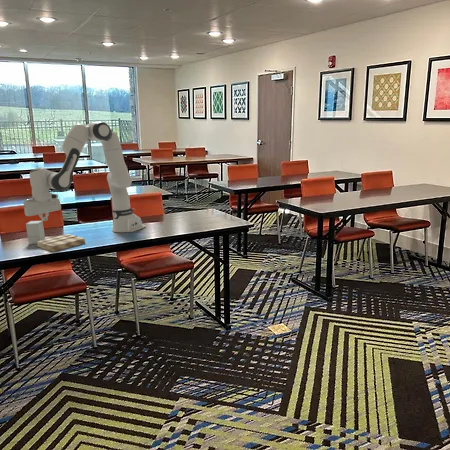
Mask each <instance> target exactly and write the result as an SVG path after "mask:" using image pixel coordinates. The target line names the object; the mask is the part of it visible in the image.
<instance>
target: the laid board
mask: <svg viewBox="0 0 450 450" xmlns="http://www.w3.org/2000/svg"><path fill="white" fill-rule="evenodd" d="M83 244H86V238H85V237H81V236H78V235H74V237H70V238H66V239H62V240H58V241H54V242H50V243H46V244H45V245H46V249H45V250H47V251H50V252H57V251H61V250H65V249H69V248H72V247H76V246H80V245H83Z"/></svg>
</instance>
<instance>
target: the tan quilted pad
mask: <svg viewBox="0 0 450 450" xmlns="http://www.w3.org/2000/svg"><path fill="white" fill-rule="evenodd" d="M74 236H75V235H74V234H70V233H67V234H62V235H58V236H54V237H50V238H45V240H41V241H37V244H36V245H37V247H38V248H41V249H44V250H47V249H46V245H45V244H46V243H50V242H54V241H58V240H62V239H66V238H70V237H74Z"/></svg>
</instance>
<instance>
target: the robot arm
mask: <svg viewBox="0 0 450 450" xmlns="http://www.w3.org/2000/svg"><path fill="white" fill-rule="evenodd" d="M87 141H93V142H95V141H96V142H97V141H99V142H100V143H101V145H102V150H103V154H104V159H105V163H106V165H107V167H108V169H109V172H108V173H107V176H106V180H107V183H108V187H109V191H110V195H111V202H112V204H111V205H112V210H111V211H112V212H111V213H112V218H113V220H112V230H111V231H112V232H113V233H133V232H136V231H138V230H141V229H144V228H147V225H145V224H144V223H143V222H142V219H141V217H140V216H138V215H137V214H135V213H134V212H136V210H137V209H136V208H132V207H131V201H130V195H129V193H128V188H129V187H130V186H131V185H132V182H133V181H132V179H133V178H132V176H131V175H130V173H129V170H128V166H127V165H126V162H125V158H124V152H123V149H122V144H121V142H120V139H119V136H118V134H117V132H115V131H113V130H112V129H111V127H110V125H108V123H106V122H105V121H92V122H88V123H86V124H82V123H76V124H73V126H72V127H71V128H70V130H69V131H68V133H67V135H66V136H65V138H64V140H63V142H62V150H63V153H64V154H65V160H64V162H63V165H62V167H61V169H60V171H59V172H56V171H51V170H49V169H46V168H44V167H42V166H41V167H36V168H32V169H31V170H30V171H29V181H30V186H31V196H32V198H29V199H26V200H24V202H23V208H24V209H23V210H24V211H23V212H24V215H25V216H26V217H33V216H39V218H40V219H41V220H40V221H43V222H46V221H48V220H49V219H48V218H49V216H50V213H52V212H56V211H61V208H62V205H61V202H60V199H59V194H58V193H52V192H50V189H52V190H55V191H58V192H65V191H67V190H68V189H70V187H71V184H72V177H73V174H74V171H75V170H76V166H77V165H78V162H79V159H80V156H81V153H82V151H83V149H84V147H85V145H86V143H87Z"/></svg>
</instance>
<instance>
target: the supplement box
mask: <svg viewBox="0 0 450 450" xmlns="http://www.w3.org/2000/svg"><path fill="white" fill-rule="evenodd" d="M25 227H26V235H27V240H28V244H29V245H38V244H37V241H41V240H45V239H46V236H45V235H46V234H45V229H44V221H42V220H30V221H28V222H26V223H25Z"/></svg>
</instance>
